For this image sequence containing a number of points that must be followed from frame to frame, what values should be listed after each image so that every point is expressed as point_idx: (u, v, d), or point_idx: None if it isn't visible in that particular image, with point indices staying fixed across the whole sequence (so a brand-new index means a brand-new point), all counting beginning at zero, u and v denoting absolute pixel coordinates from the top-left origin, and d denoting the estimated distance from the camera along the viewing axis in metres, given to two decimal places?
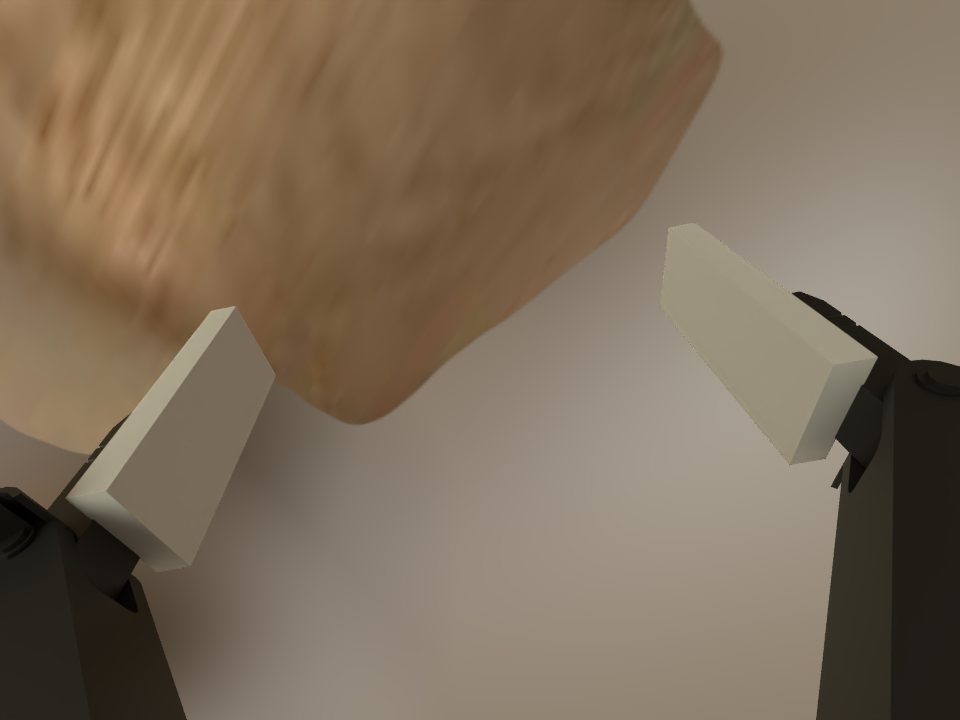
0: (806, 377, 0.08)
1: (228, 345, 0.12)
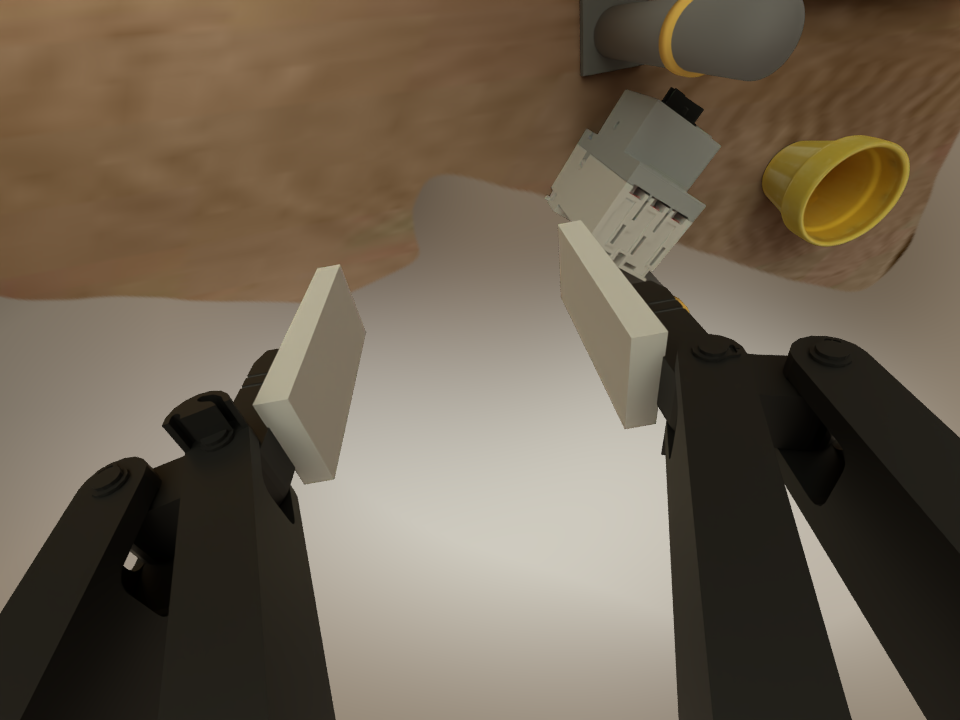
0: (623, 351, 0.10)
1: (338, 297, 0.13)
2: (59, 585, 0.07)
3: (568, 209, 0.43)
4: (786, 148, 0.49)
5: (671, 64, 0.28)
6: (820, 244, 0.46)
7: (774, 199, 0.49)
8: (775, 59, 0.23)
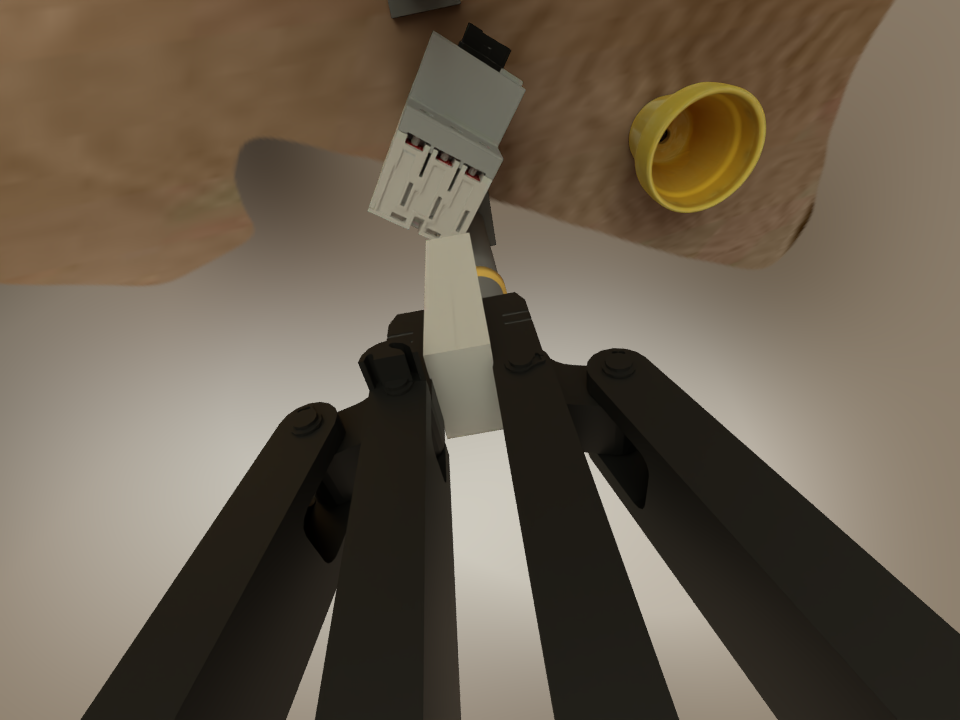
0: None
1: None
2: (258, 514, 0.07)
3: None
4: (647, 104, 0.43)
5: None
6: (679, 210, 0.41)
7: None
8: None
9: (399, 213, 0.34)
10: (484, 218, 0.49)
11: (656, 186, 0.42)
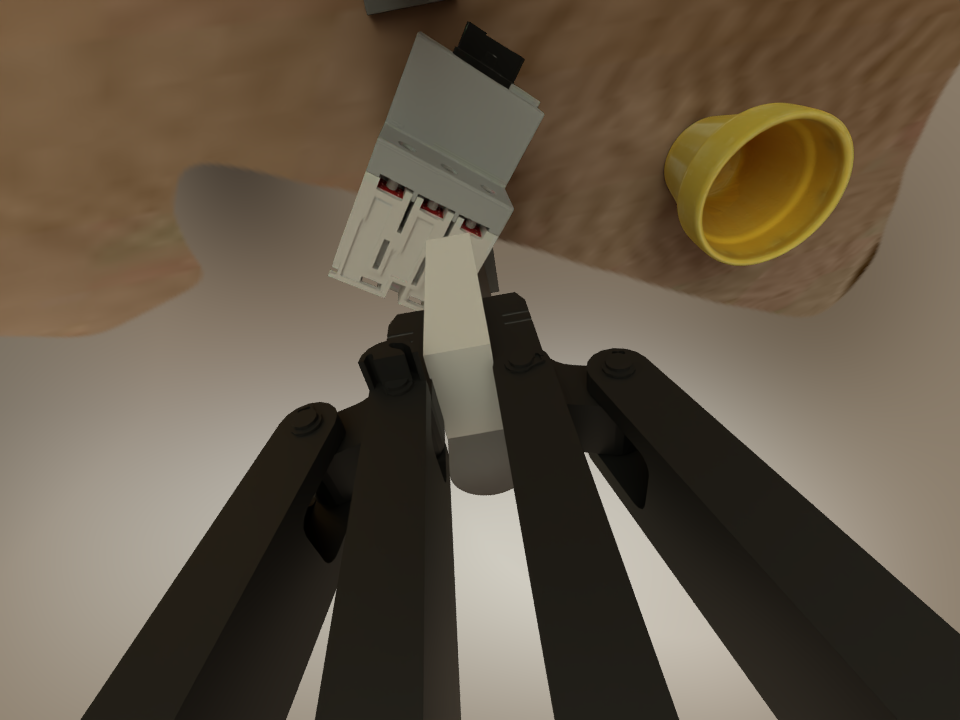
0: None
1: None
2: (258, 514, 0.07)
3: None
4: (690, 127, 0.35)
5: None
6: (732, 263, 0.32)
7: (675, 198, 0.35)
8: None
9: (371, 278, 0.25)
10: (485, 261, 0.40)
11: None
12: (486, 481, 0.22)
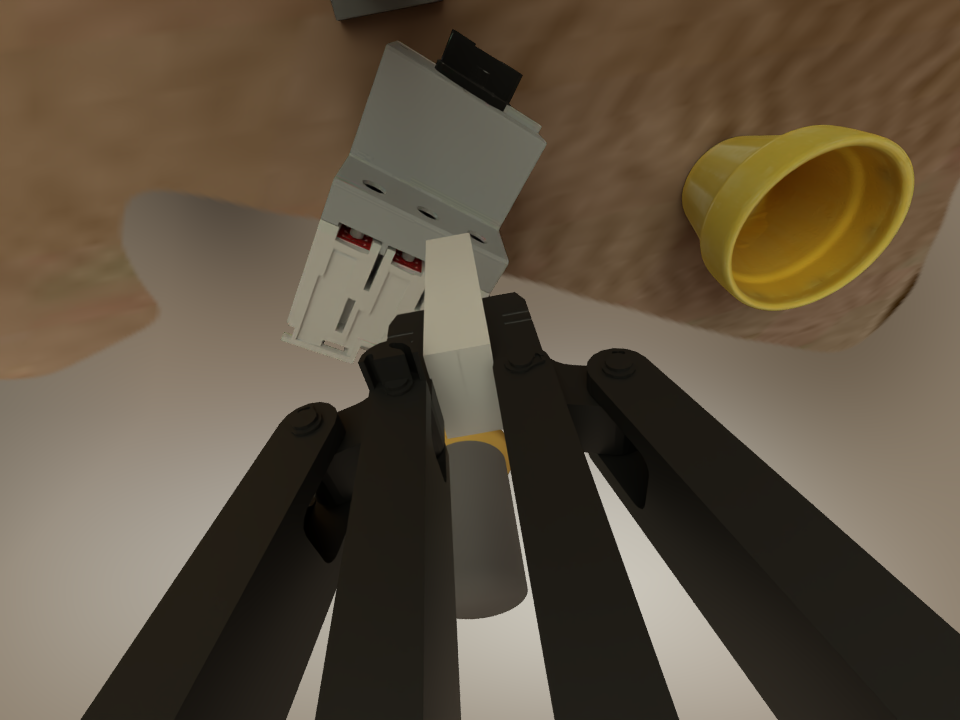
0: None
1: None
2: (258, 514, 0.07)
3: None
4: (713, 148, 0.30)
5: None
6: (764, 308, 0.28)
7: (696, 230, 0.31)
8: None
9: (335, 341, 0.20)
10: None
11: None
12: (473, 606, 0.18)
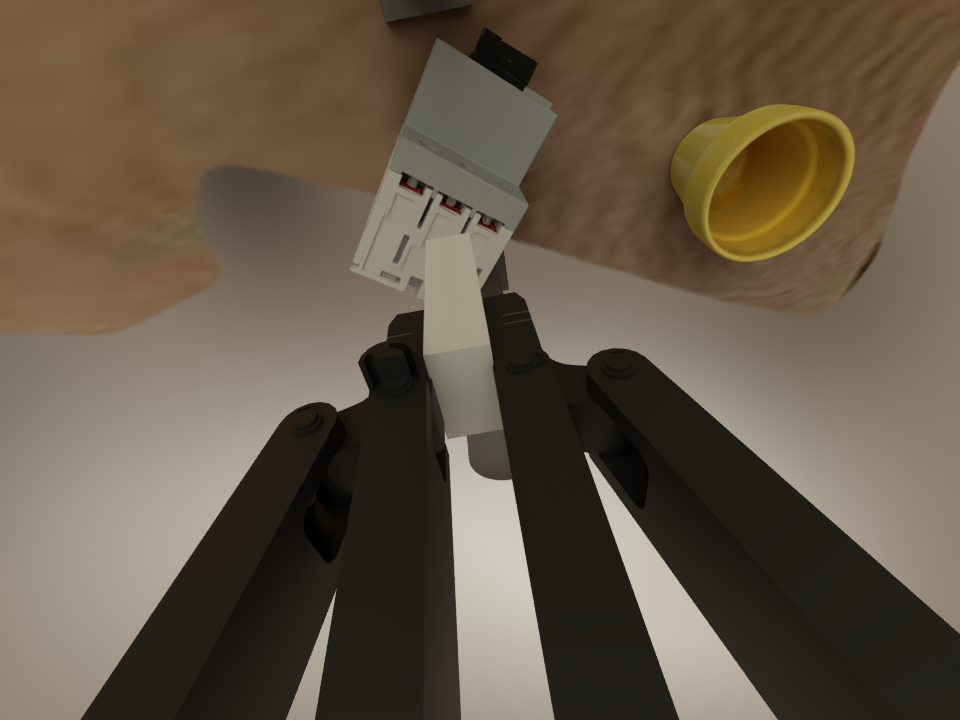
0: None
1: None
2: (258, 514, 0.07)
3: (370, 212, 0.31)
4: (695, 128, 0.36)
5: None
6: (738, 259, 0.33)
7: (681, 197, 0.36)
8: None
9: (391, 272, 0.26)
10: None
11: None
12: (504, 466, 0.23)
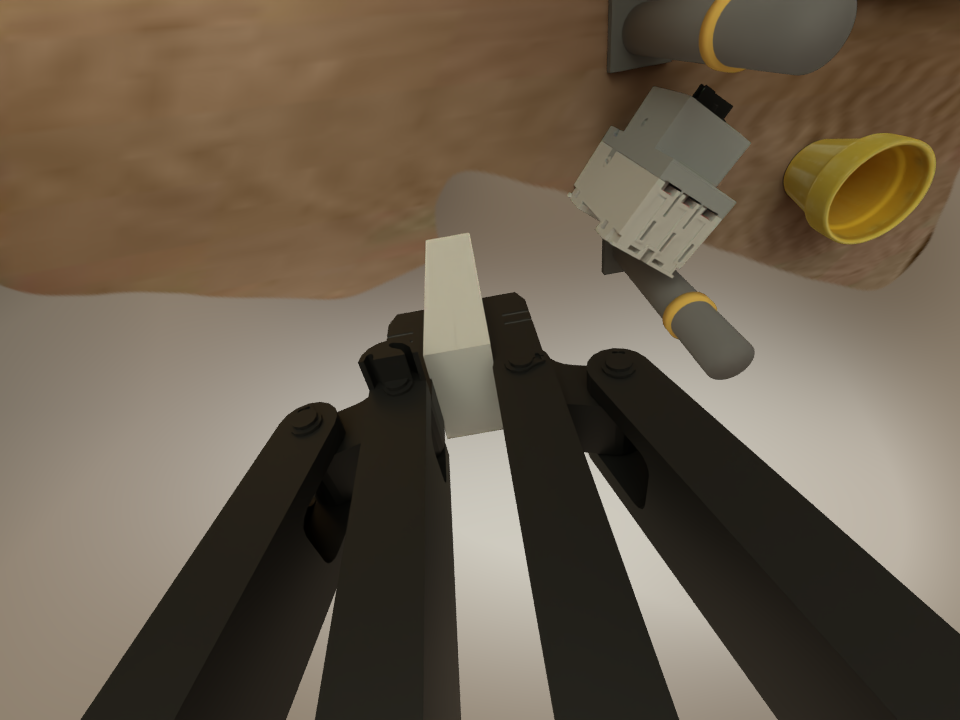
0: None
1: None
2: (258, 514, 0.07)
3: (595, 206, 0.43)
4: (808, 146, 0.49)
5: (712, 59, 0.28)
6: (844, 242, 0.46)
7: (796, 197, 0.49)
8: (825, 53, 0.23)
9: (635, 246, 0.39)
10: None
11: None
12: (724, 368, 0.36)
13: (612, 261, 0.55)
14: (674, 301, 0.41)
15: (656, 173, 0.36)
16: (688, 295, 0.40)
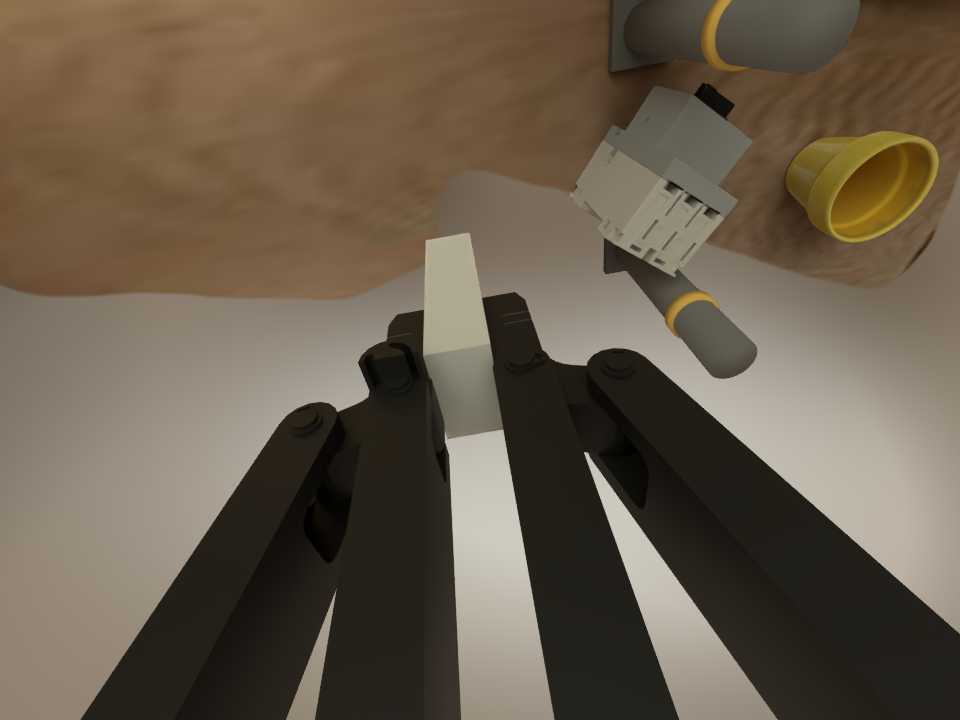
0: None
1: None
2: (258, 514, 0.07)
3: (596, 205, 0.43)
4: (810, 145, 0.49)
5: (714, 58, 0.28)
6: (846, 240, 0.46)
7: (799, 195, 0.49)
8: (827, 51, 0.23)
9: (637, 245, 0.39)
10: None
11: None
12: (727, 367, 0.36)
13: (614, 260, 0.55)
14: (676, 300, 0.41)
15: (658, 172, 0.36)
16: (690, 294, 0.40)
